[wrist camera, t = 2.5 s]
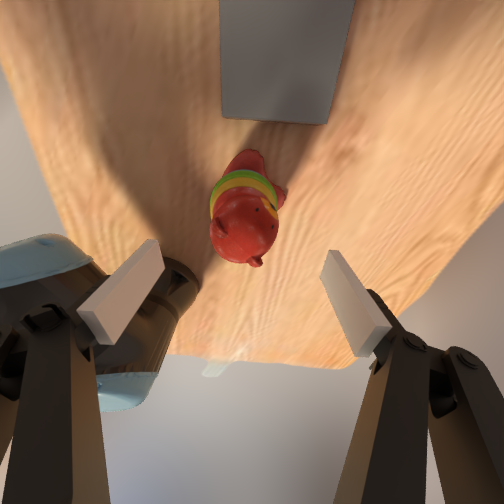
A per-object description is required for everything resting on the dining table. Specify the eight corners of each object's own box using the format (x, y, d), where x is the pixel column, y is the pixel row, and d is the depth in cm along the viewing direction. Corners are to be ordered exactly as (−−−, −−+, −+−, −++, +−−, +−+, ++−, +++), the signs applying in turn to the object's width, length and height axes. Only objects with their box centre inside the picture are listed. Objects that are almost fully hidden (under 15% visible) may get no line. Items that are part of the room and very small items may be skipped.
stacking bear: (289, 200, 32) (319, 259, 17) (242, 230, 35) (234, 302, 20) (253, 142, 27) (253, 153, 12) (203, 182, 31) (156, 230, 16)
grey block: (225, 118, 26) (221, 116, 22) (223, -56, 18) (216, -99, 15) (317, 125, 26) (326, 123, 23) (352, -43, 19) (374, -82, 15)
